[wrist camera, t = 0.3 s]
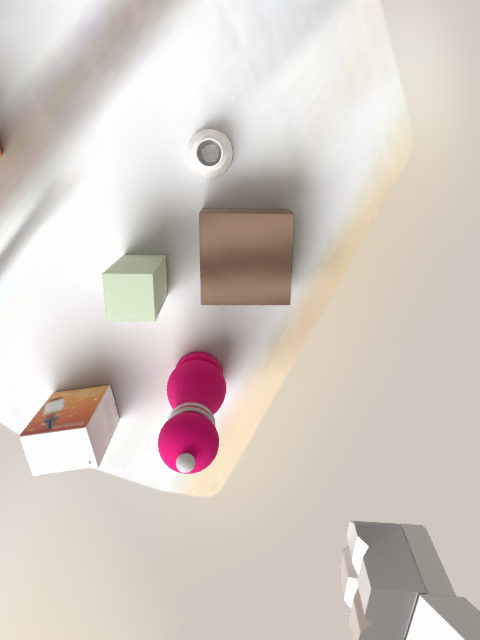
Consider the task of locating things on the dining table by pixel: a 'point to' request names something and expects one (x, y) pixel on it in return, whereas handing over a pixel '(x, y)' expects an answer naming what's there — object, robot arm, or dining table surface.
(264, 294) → the walnut block
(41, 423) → the small box
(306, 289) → the dining table surface
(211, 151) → the white hollow cone
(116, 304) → the sage block
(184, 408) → the pepper mill
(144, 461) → the dining table surface
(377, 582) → the robot arm
